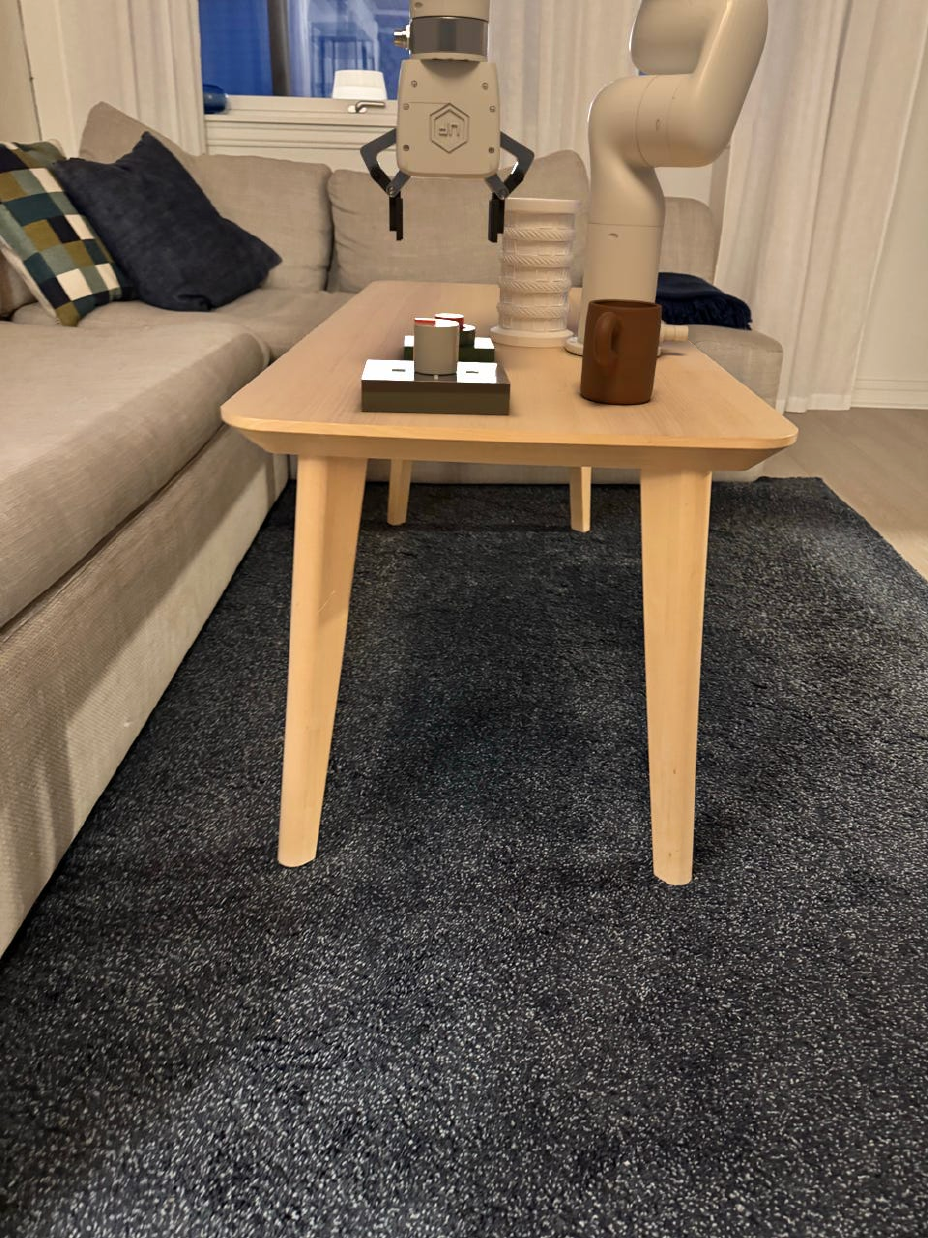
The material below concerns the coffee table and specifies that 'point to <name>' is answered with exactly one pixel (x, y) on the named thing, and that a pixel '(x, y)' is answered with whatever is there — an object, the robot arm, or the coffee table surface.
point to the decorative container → (535, 272)
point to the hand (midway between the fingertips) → (446, 240)
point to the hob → (435, 389)
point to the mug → (620, 350)
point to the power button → (451, 318)
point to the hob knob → (435, 346)
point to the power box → (463, 347)
